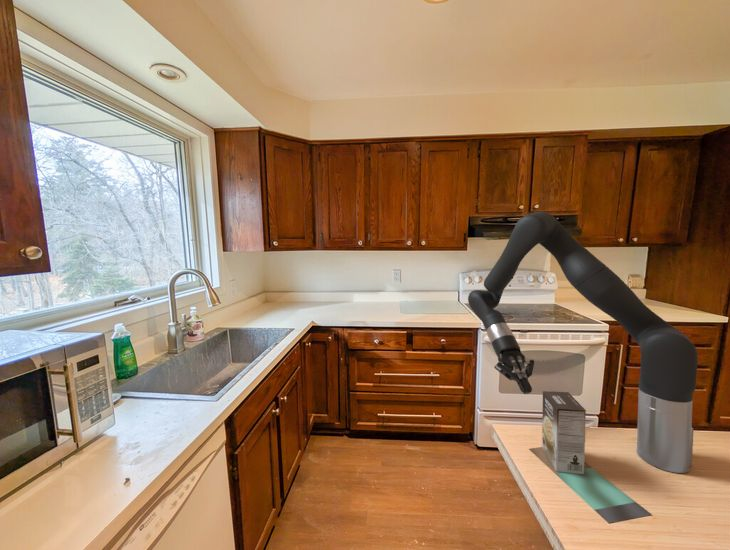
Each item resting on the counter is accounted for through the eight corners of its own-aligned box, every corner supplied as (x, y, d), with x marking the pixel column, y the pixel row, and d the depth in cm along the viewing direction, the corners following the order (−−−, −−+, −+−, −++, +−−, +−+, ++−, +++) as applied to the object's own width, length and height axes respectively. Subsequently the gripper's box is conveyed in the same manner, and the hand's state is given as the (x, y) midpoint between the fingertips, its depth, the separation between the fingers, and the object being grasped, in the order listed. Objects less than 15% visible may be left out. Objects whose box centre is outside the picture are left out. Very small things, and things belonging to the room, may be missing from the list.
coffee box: (540, 447, 78) (541, 389, 77) (567, 449, 77) (568, 391, 76) (556, 472, 69) (556, 407, 68) (586, 475, 68) (587, 409, 67)
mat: (561, 445, 79) (561, 444, 79) (652, 516, 58) (652, 514, 58) (528, 449, 78) (528, 448, 78) (608, 524, 56) (608, 523, 56)
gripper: (488, 335, 92) (513, 390, 81) (526, 332, 94) (555, 386, 83) (479, 346, 98) (501, 399, 86) (515, 343, 99) (541, 395, 88)
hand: (528, 392), depth 84 cm, fingers closed
